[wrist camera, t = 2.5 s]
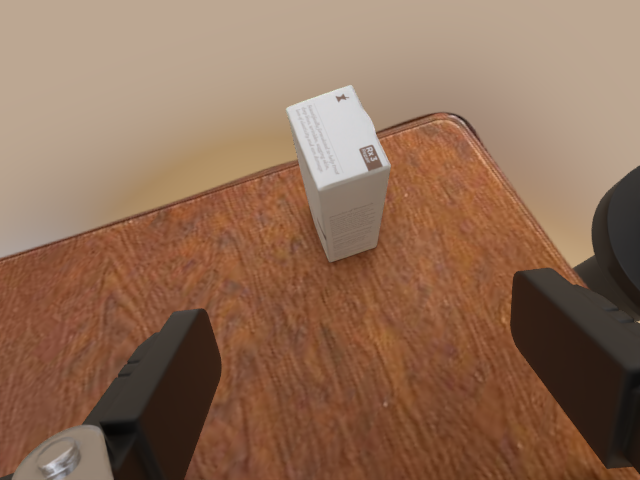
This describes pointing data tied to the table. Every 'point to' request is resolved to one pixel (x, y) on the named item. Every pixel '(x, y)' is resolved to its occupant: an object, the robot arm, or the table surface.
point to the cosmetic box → (341, 170)
